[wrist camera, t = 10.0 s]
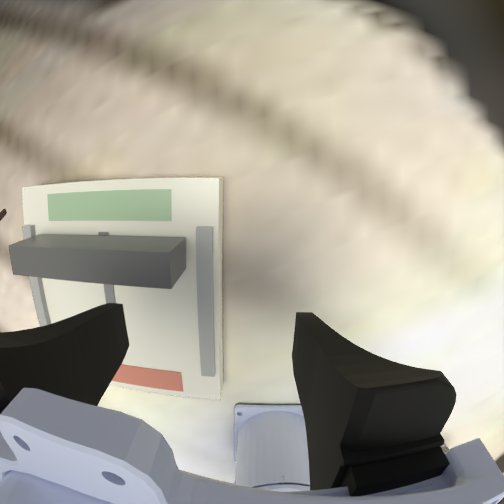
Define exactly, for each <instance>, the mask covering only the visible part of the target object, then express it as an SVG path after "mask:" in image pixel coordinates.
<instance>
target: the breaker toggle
mask: <svg viewBox="0 0 504 504" xmlns="http://www.w3.org/2000/svg"><path fill="white" fill-rule="evenodd" d="M9 252H10V259H11V265H12V271H13V274H14V275H22V276H31V277H39V278H48V279H57V280H67V281H77V282H87V283H98V284H109V285H121V286H134V287H147V288H162V289H172V288H173V286H174V285H175V283H176V282H177V280H178V279H179V278H180V276H181V275H182V273H183V272H184V271H185V269H186V240H185V237H155V236H113V235H56V234H38V235H35V236H33V237H30V238H27V239H25V240H22V241H19V242H17V243H14V244H12V245H9Z"/></svg>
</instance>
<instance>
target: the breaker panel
mask: <svg viewBox="0 0 504 504" xmlns="http://www.w3.org/2000/svg"><path fill="white" fill-rule="evenodd" d="M223 182H224V177H159V178H129V179H108V180H92V181H78V182H66V183H55V184H44V185H36V186H29V187H22V197H23V214H24V226H22V230H23V239H24V240H25V239H27V238H30V237H33V236H35V235H38V234H56V235H113V236H155V237H185V240H186V269H185V271H184V272H183V273H182V275H181V276H180V278H179V279H178V280H177V282H176V283H175V285H174V286H173V288H172V289H162V288H147V287H134V286H121V285H109V284H98V283H87V282H77V281H67V280H57V279H48V278H39V277H31V276H29V279H30V285H31V290H32V295H33V299H34V304H35V308H36V312H37V317H38V320H39V324H40V327H41V326H45V325H49V324H52V323H55V322H58V321H61V320H64V319H66V318H69V317H72V316H74V315H77V314H79V313H82V312H84V311H87V310H89V309H92V308H95V307H97V306H100V305H103V304H106V303H119V304H123V309H124V316H125V322H126V328H127V334H128V339H129V348H128V350H127V353H126V355H125V358H124V360H123V362H122V364H121V366H120V368H119V369H118V371H117V373H116V374H115V376H114V378H113V379H112V381H111V382H110V384H109V385H111V386H116V387H121V388H126V389H132V390H138V391H144V392H150V393H157V394H164V395H171V396H179V397H188V398H198V399H209V400H221V394H222V387H223V335H222V237H223Z"/></svg>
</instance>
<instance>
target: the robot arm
mask: <svg viewBox="0 0 504 504" xmlns="http://www.w3.org/2000/svg"><path fill="white" fill-rule="evenodd" d="M128 348H129V339H128V334H127V328H126V322H125V316H124V309H123V304H119V303H106V304H103V305H100V306H97V307H95V308H92V309H89V310H87V311H84V312H82V313H79V314H77V315H74V316H72V317H69V318H66V319H64V320H61V321H58V322H55V323H52V324H49V325H45V326H41V327H37V328H33V329H27V330H21V331H15V332H4V333H0V504H497V503H498V502H499V501H500V500H501V499H502V498H503V497H504V476H503V474H502V473H501V471H500V469H499V468H498V466H497V465H496V463H495V461H494V460H493V458H492V457H491V455H490V454H489V452H488V450H487V449H486V447H485V446H484V444H483V443H482V441H481V440H480V438H477V439H474V440H472V441H469V442H467V443H464V444H461V445H458V446H455V447H453V448H451V449H450V450H449V451H447V452H446V453H444V452H443V450H442V448H441V446H442V445H443V444H444V439H443V437H442V436H441V434H440V432H441V431H442V429H443V427H444V425H445V423H446V422H447V420H448V418H449V416H450V414H451V412H452V410H453V407H454V405H455V402H456V392H455V389H454V387H453V386H452V385H451V383H450V382H449V381H448V379H447V378H446V377H445V376H444V374H443V373H442V372H441V371H435V370H428V369H421V368H415V367H411V366H407V365H403V364H399V363H396V362H393V361H390V360H387V359H384V358H382V357H379V356H377V355H374V354H372V353H370V352H368V351H366V350H364V349H362V348H360V347H358V346H357V345H355V344H353V343H352V342H350V341H349V340H347V339H346V338H344V337H343V336H341V335H340V334H338V333H337V332H336V331H334V330H333V329H332V328H330V327H329V326H328V325H327V324H325V323H324V322H323V321H322V320H321V319H319V318H318V317H317V316H316V315H314V314H313V313H304V312H296V322H295V332H294V342H293V351H292V360H293V371H294V377H295V382H296V386H297V390H298V394H299V398H300V402H301V405H242V404H239V405H236V406H235V408H234V443H235V461H236V476H235V484H232V483H227V482H223V481H219V480H214V479H210V478H207V477H203V476H199V475H195V474H192V473H188V472H185V471H182V470H179V469H178V467H177V465H176V462H175V459H174V455H173V451H172V449H171V447H170V446H169V445H168V443H167V442H166V440H165V438H164V437H163V435H162V434H161V433H160V432H158V431H157V430H156V429H154V428H153V427H151V426H150V425H148V424H147V423H146V422H144V421H143V420H142V419H139V418H136V417H133V416H131V415H128V414H125V413H123V412H120V411H115V410H111V409H106V408H102V407H98V406H97V405H98V403H99V401H100V399H101V397H102V396H103V394H104V392H105V391H106V389H107V387H108V386H109V384H110V382H111V381H112V379H113V378H114V376H115V374H116V373H117V371H118V369H119V368H120V366H121V364H122V362H123V360H124V358H125V355H126V353H127V350H128ZM238 412H241V413H238Z"/></svg>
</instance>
